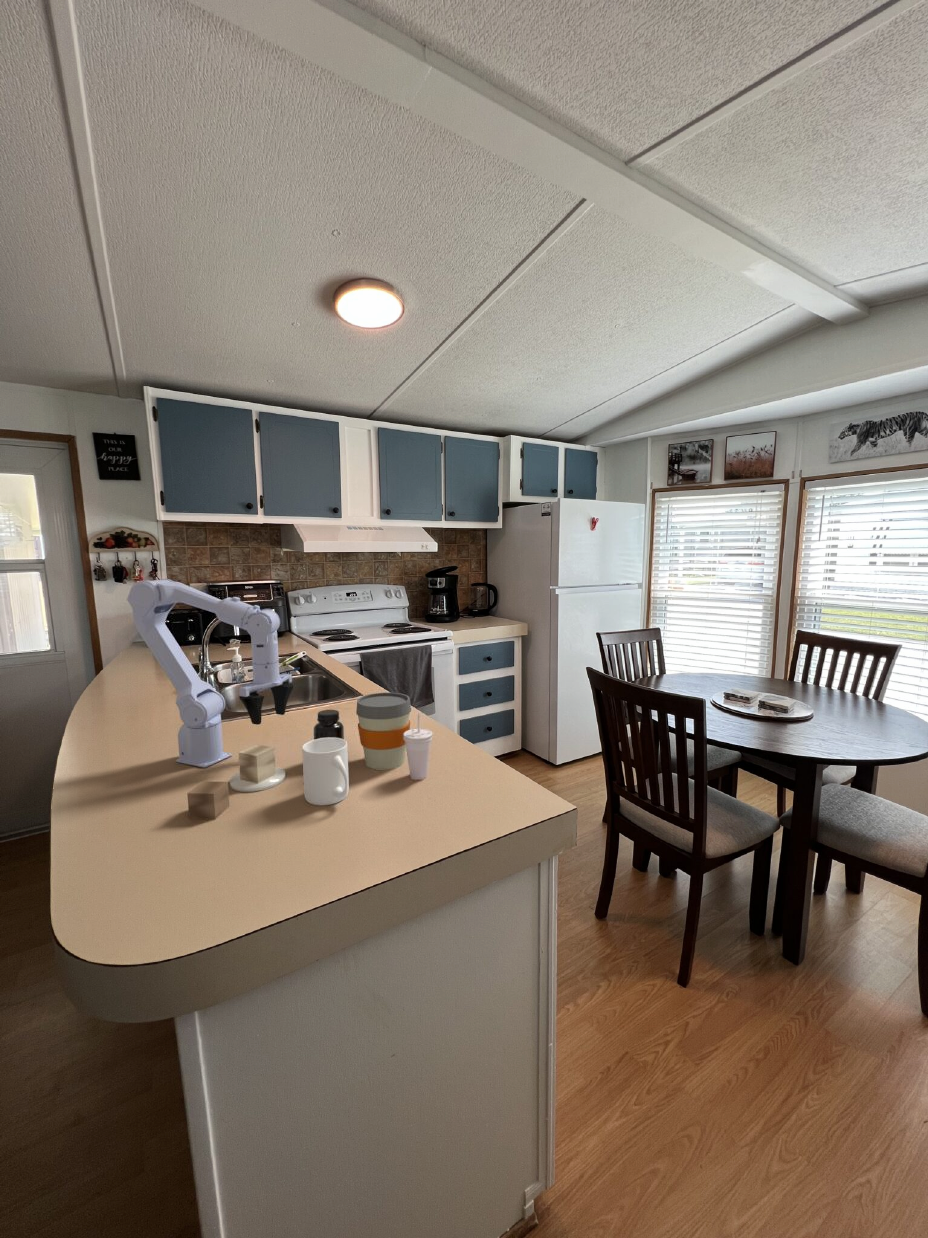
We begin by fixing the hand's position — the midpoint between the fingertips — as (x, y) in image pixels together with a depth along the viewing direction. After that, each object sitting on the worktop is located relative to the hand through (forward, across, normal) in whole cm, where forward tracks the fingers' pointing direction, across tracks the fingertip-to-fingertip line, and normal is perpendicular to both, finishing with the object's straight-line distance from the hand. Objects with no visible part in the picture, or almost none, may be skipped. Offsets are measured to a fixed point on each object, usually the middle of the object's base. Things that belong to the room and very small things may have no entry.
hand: (268, 718), depth 120 cm
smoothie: (+10, +5, -37) cm, 39 cm away
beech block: (+9, -10, -6) cm, 15 cm away
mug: (+10, -11, -26) cm, 30 cm away
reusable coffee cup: (+10, +9, -26) cm, 29 cm away
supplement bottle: (+10, +4, -14) cm, 18 cm away
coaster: (+10, -10, -6) cm, 15 cm away
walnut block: (+10, -24, -8) cm, 27 cm away
